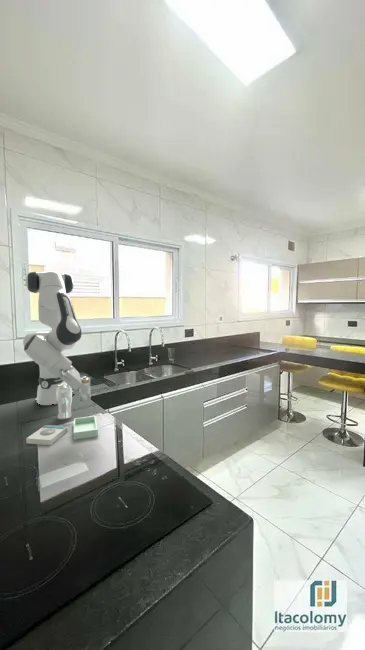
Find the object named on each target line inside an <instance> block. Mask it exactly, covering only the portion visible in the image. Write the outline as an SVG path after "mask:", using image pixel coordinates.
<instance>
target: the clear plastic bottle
mask: <svg viewBox="0 0 365 650" xmlns="http://www.w3.org/2000/svg"><path fill="white" fill-rule="evenodd" d="M72 392H73V388H71V387H70V386H69V385H68V384H64V385H59V386H57V392H56V398H57V404H56V405H57V409H58V414H57V419H58V420H60V421H61V420H63V421H64V420H68V419H70V418H71V417H72V416H73V415H72V411H71V409H72V408H71V407H72V402H73V397H72Z"/></svg>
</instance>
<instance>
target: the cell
mask: <svg viewBox="0 0 365 650" xmlns="http://www.w3.org/2000/svg"><path fill="white" fill-rule="evenodd" d="M80 378H81V381H82V384H83V385H85V386H86V387H87V388H88V390H87V392H84V391H83V390H81V389H79V388H78V391H79V392H78V393H79V395H78V396H79V397H78V399H79V401H80V402H88V401H90V400H91V377H88V376H86V375H85V376H82V377H80Z"/></svg>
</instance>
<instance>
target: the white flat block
mask: <svg viewBox="0 0 365 650" xmlns="http://www.w3.org/2000/svg"><path fill="white" fill-rule="evenodd" d="M67 432H68V426H66V425H55V424H54V425H53V424H44V425H43V426H42V427H41V428H39V429H38V430H36V431H35V432H33V433H32V434H31V435H29V436H28V437H26V438H25V439H26V440H25V441H26V442H25V443H26V444H29V445H45V446H46V445H47V446H52V445H53V444H54V443H56V442H57V441H58V440H59V439H60V438H61V437H62V436H64V435H65V434H66V433H67Z"/></svg>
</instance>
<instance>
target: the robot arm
mask: <svg viewBox="0 0 365 650" xmlns="http://www.w3.org/2000/svg"><path fill="white" fill-rule="evenodd" d="M74 284H75V282H74V279H73V276H72V275H71V274H70V273H65V272H64V273H63V272H57V271H52V270H51V271H50V270H49V271H39V272H38V271H31V272H28V274H27V275H26V278H25V285H26V288H27V290H28V292H30V293H33V294H34V293H35V294H38V308H37V309H38V321H39V322H40V323H42V324H43V325H45V326H47V327H49V328H50V329H51V330H50V331H34V332H30V333H26V335H25V336H24V337H23V341H22V343H23V350H24V353H25V354H26V355H27V356H28V357H29V358H30V360H32V361H33V362H34V363H35V364H37V365H38V367H39V377H38V384H39V385H37V392H36V397H35V400H37V401H36V404H37V403H38V405H39V404H40V406H53V405H52V404H54V405H58V404H57V398H56V392H57V386H59V385H64V384H68V385H69V386H70V387H71V388H72V390H74V391H77V390H79V389H81V390H83V391H84V392H87V390H88V388H87V387H86V386H85V385H83V384H82V381H81V378H82V377H81V375H80V372H79V371H78V370H77V368H75V367H74V366H73V365H72V363H73V362H72V360H70V359H69V358H68V357H67V356H65V355H64V354H63V352H64V351H67V350H71V349H73V348H74V347H75V345H76V343H77V342H78V341H80V340H81V337H82V328H81V326H80V325H79V323H78V319H77V315H76V313H75V311H74V306H73V302H72V300H71V297H70V296H69V295H68V294H70V293H72V291H73V289H74Z"/></svg>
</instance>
